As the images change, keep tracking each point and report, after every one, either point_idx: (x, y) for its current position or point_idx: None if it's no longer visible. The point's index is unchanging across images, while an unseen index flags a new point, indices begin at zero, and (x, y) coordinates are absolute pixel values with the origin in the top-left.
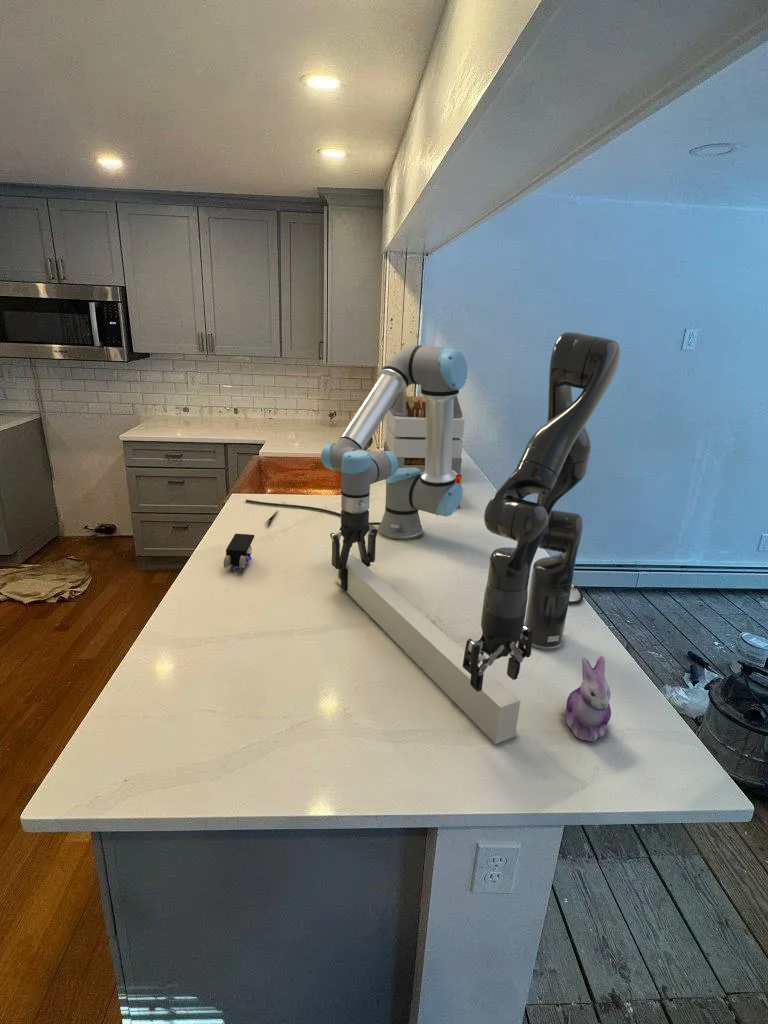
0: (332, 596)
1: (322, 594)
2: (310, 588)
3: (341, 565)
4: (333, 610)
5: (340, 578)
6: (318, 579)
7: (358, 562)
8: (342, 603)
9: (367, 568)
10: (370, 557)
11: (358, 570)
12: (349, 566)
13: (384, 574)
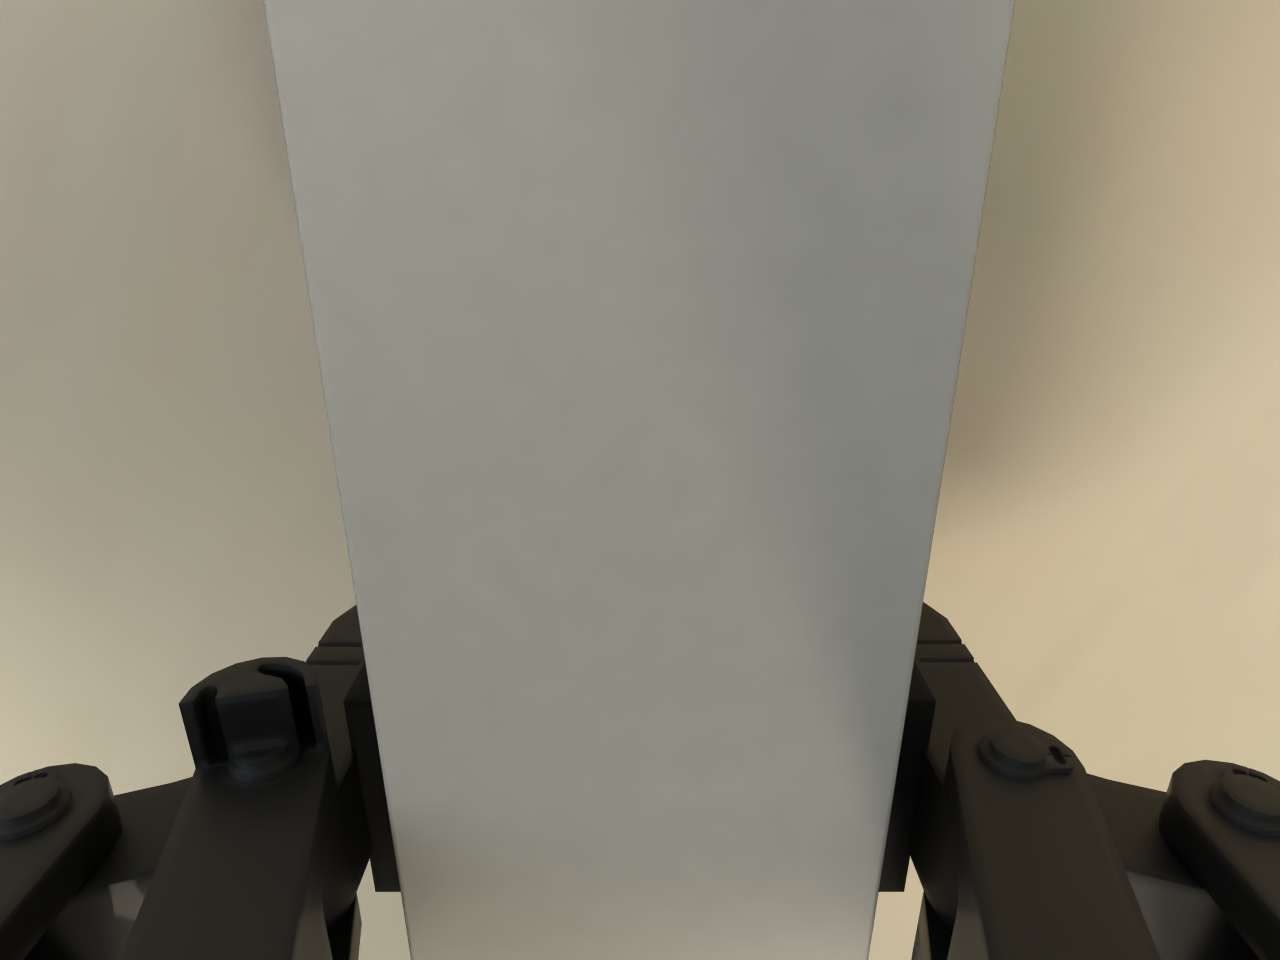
0: (1005, 456)
1: (1089, 559)
2: (1122, 745)
3: (1095, 847)
4: (1266, 27)
5: (947, 622)
6: (908, 888)
7: (504, 856)
8: (1001, 193)
9: (390, 412)
10: (45, 931)
11: (766, 394)
12: (874, 745)
13: (53, 724)
